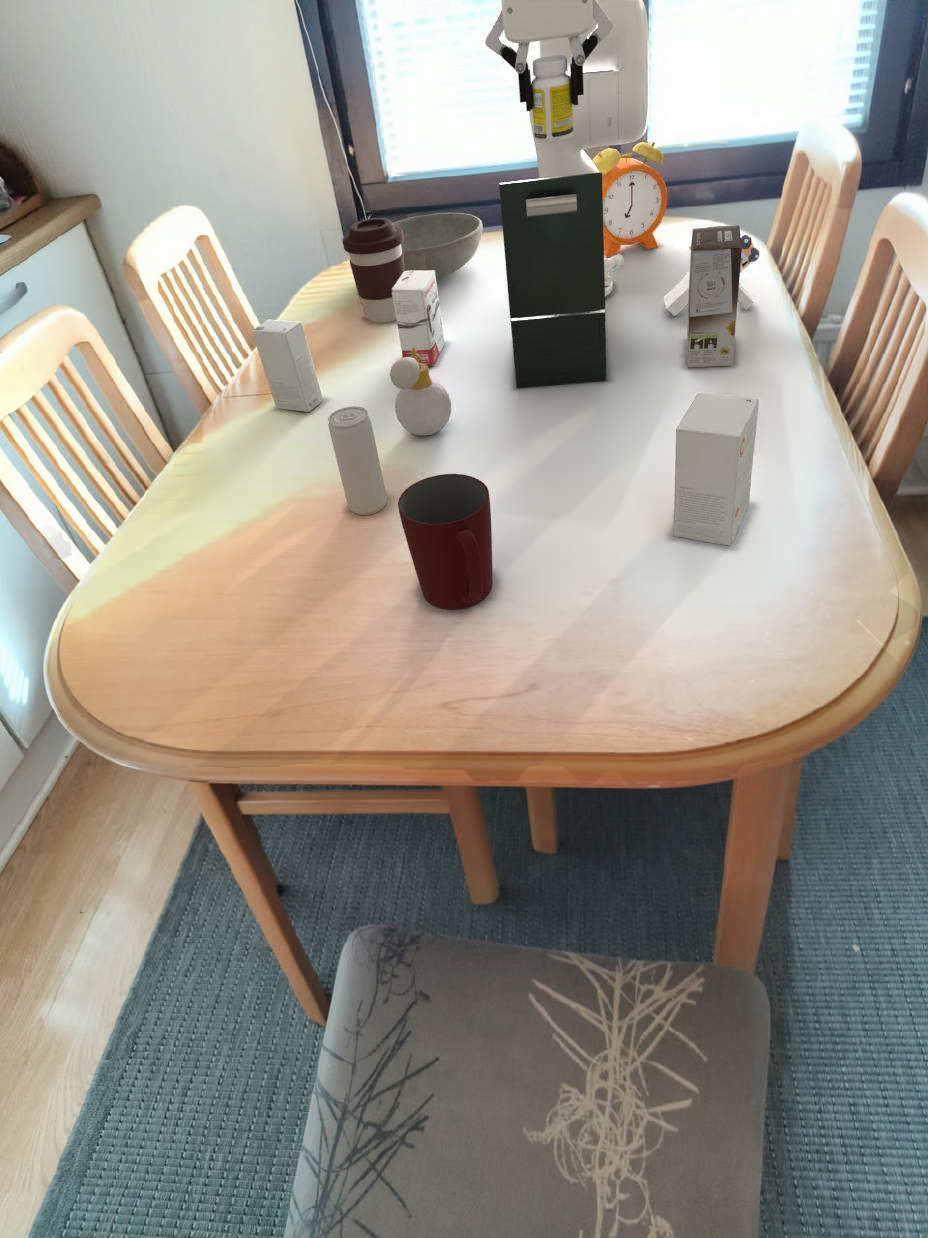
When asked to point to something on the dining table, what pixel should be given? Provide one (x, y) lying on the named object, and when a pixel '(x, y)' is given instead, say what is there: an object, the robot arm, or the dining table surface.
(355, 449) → the beverage can
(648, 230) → the alarm clock
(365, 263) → the coffee cup
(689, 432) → the small box
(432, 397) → the perfume bottle
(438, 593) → the mug
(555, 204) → the dark green block
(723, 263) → the coffee box
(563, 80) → the supplement bottle
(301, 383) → the cosmetic box
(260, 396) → the dining table surface
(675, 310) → the figurine
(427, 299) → the ink box
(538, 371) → the bin
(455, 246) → the bowl
